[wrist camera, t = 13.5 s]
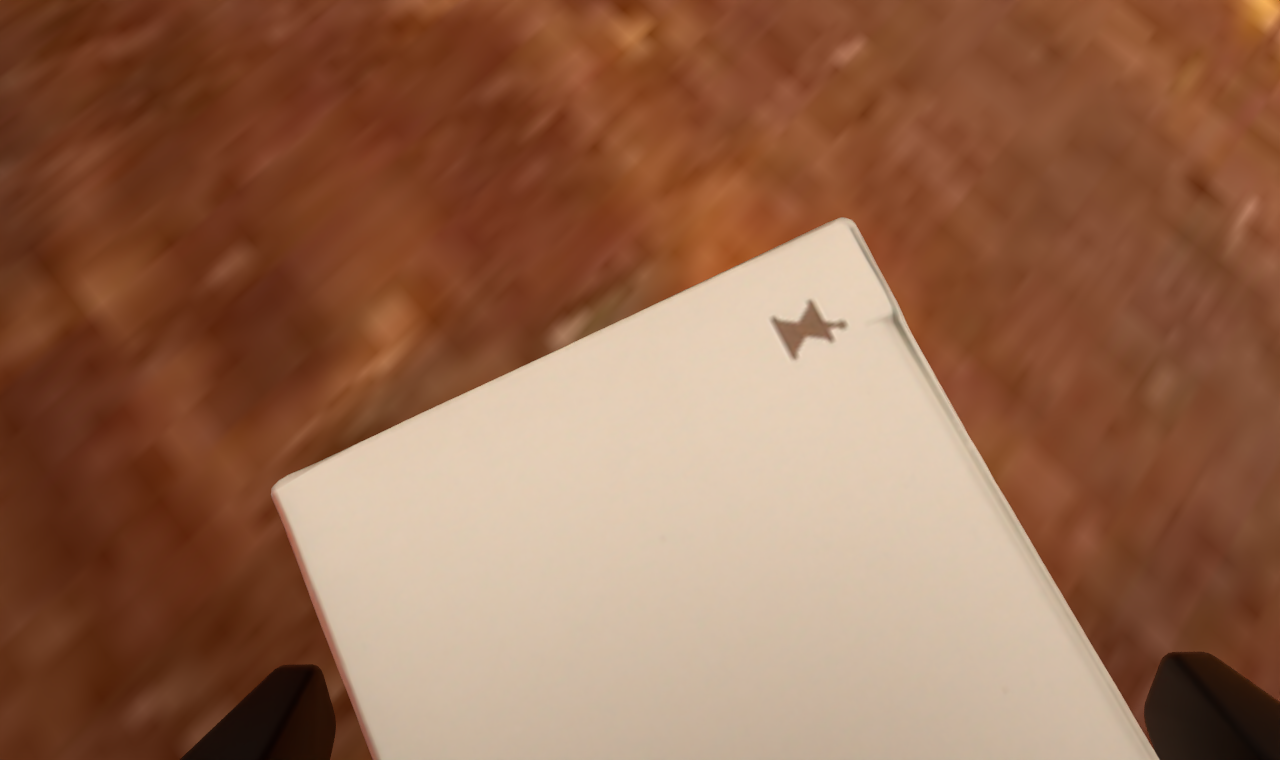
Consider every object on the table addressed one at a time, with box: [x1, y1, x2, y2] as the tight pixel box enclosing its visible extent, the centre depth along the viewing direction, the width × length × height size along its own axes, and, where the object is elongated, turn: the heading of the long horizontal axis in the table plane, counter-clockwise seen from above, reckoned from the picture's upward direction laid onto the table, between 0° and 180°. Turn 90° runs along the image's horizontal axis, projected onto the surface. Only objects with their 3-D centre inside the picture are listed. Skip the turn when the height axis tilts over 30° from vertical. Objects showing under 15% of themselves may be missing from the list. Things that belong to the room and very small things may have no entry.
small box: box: [271, 217, 1160, 760], centre depth 12 cm, size 8×6×10 cm
